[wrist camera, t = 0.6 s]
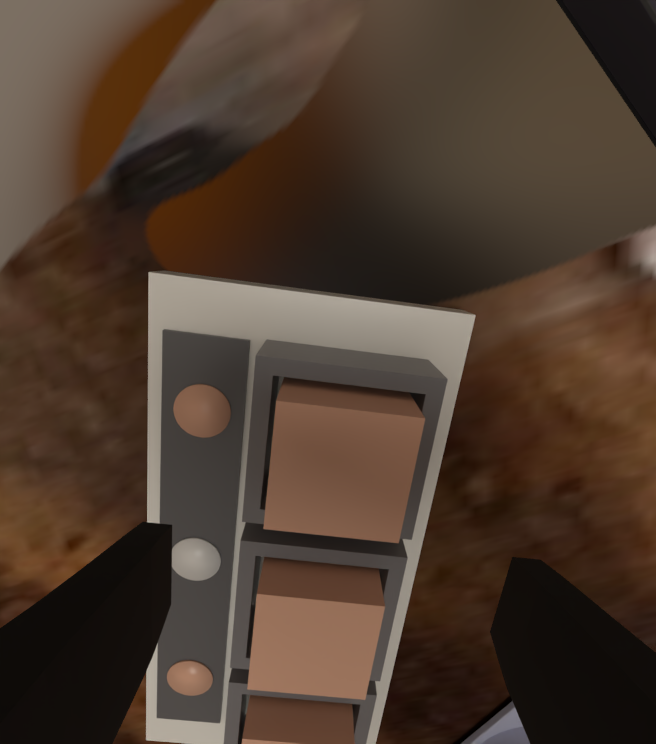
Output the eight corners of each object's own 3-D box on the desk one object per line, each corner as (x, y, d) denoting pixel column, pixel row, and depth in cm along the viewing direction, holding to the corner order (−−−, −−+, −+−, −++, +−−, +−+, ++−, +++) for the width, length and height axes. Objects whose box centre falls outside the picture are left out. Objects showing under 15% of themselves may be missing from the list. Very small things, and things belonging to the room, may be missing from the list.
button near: (387, 499, 15) (398, 543, 13) (272, 487, 15) (263, 529, 13) (408, 391, 14) (425, 418, 12) (284, 376, 14) (276, 400, 12)
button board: (369, 726, 23) (378, 821, 19) (157, 708, 22) (122, 803, 19) (462, 309, 16) (505, 326, 12) (164, 270, 16) (113, 275, 12)
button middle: (359, 640, 17) (365, 699, 15) (257, 630, 17) (247, 689, 15) (376, 556, 16) (385, 606, 14) (266, 544, 16) (256, 594, 14)
